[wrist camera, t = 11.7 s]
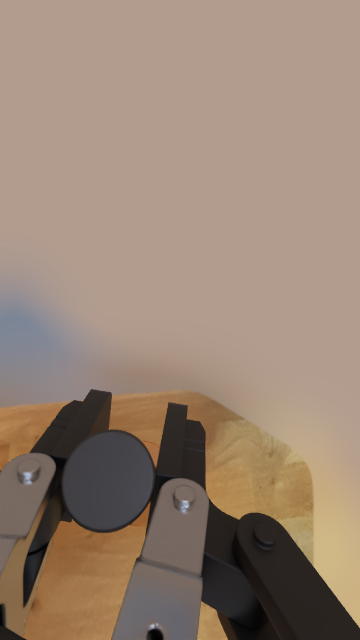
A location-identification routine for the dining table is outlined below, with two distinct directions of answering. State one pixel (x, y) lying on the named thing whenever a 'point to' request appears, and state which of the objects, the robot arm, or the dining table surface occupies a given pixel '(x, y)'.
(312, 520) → the dining table surface
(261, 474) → the dining table surface
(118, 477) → the plunger
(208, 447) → the dining table surface
